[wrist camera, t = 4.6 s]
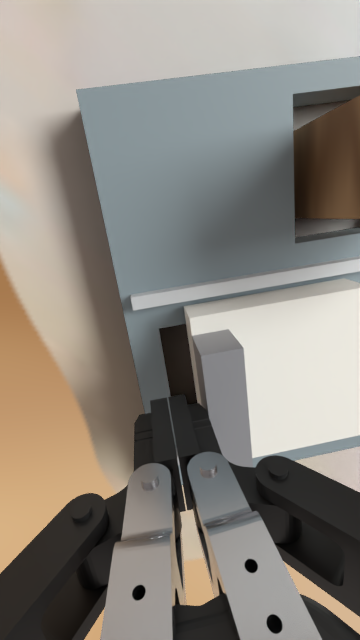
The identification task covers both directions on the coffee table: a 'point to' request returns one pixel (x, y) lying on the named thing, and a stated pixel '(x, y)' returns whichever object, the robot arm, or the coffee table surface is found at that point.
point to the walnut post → (328, 165)
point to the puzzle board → (209, 198)
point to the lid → (278, 367)
